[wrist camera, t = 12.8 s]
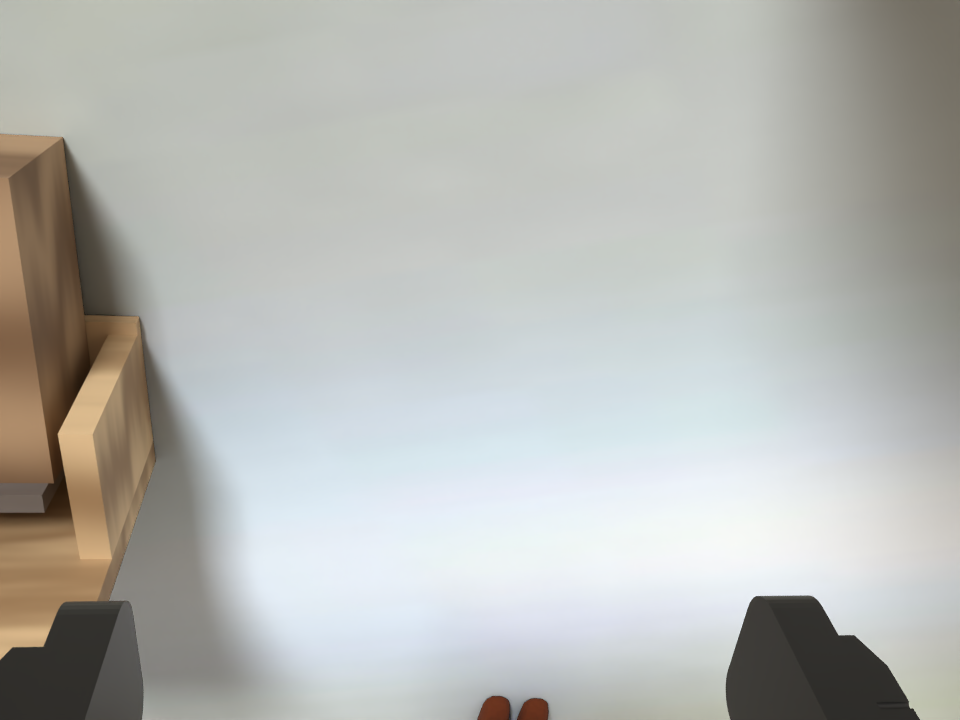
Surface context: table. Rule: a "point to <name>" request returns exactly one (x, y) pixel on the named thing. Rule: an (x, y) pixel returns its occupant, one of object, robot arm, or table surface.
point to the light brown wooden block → (36, 319)
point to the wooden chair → (83, 492)
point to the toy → (498, 708)
